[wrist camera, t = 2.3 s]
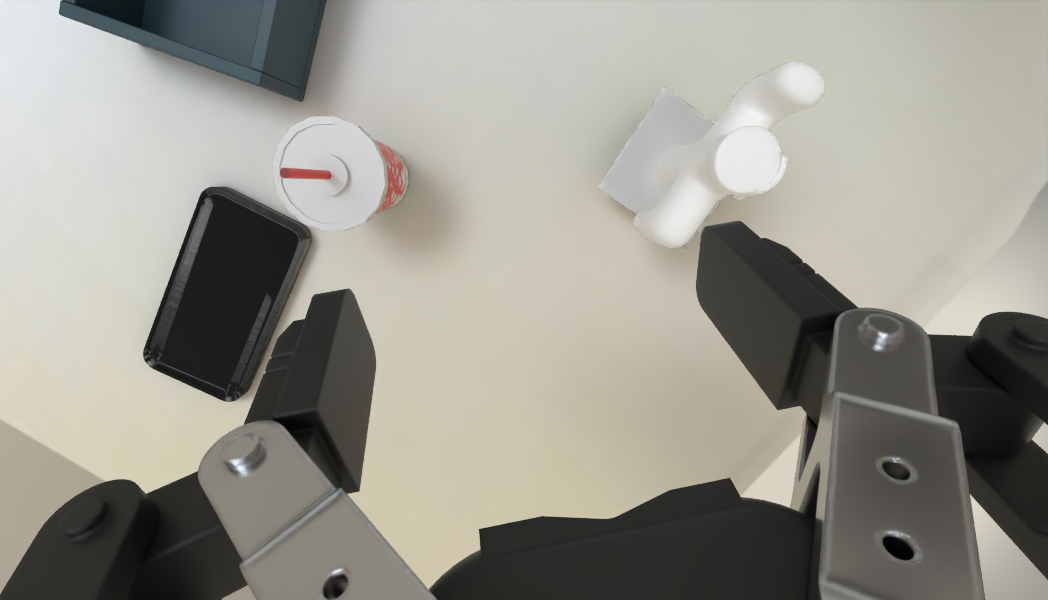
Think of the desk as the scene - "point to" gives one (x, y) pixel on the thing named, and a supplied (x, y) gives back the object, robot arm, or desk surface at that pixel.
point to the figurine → (706, 154)
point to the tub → (218, 34)
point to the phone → (226, 293)
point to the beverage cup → (336, 174)
